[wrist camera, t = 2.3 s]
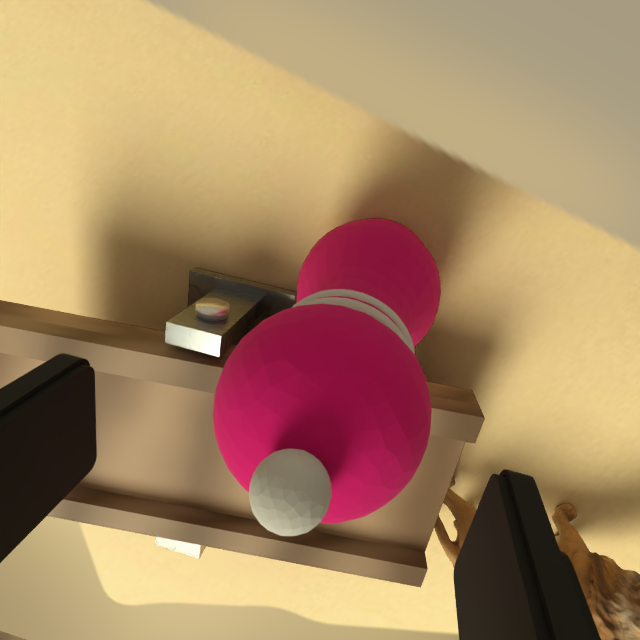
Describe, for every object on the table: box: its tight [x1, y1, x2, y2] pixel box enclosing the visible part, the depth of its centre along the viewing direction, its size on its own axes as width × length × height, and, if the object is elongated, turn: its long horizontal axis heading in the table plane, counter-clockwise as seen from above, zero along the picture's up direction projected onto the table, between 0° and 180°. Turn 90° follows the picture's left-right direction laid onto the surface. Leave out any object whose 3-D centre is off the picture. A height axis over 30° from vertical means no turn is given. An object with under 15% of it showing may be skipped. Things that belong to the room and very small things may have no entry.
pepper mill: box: [213, 218, 441, 536], centre depth 18 cm, size 7×7×20 cm
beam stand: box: [156, 268, 297, 559], centre depth 29 cm, size 7×17×7 cm, turn 170°
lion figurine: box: [434, 476, 640, 640], centre depth 27 cm, size 15×5×9 cm, turn 88°
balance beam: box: [0, 300, 485, 587], centre depth 27 cm, size 27×13×3 cm, turn 80°
